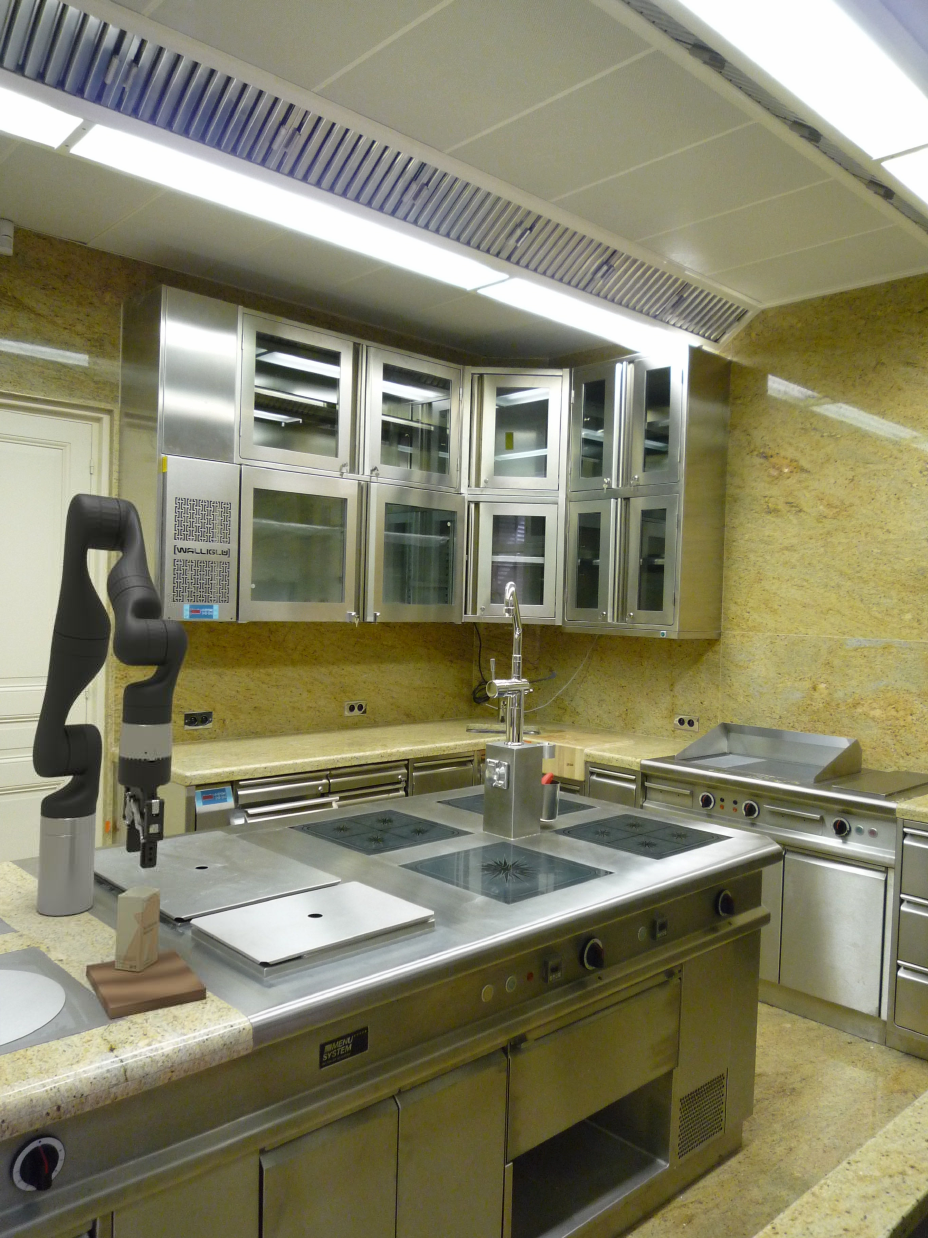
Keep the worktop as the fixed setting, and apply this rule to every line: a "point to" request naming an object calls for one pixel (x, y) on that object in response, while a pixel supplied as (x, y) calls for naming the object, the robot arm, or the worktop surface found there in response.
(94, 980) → the board
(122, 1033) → the worktop surface
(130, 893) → the box
